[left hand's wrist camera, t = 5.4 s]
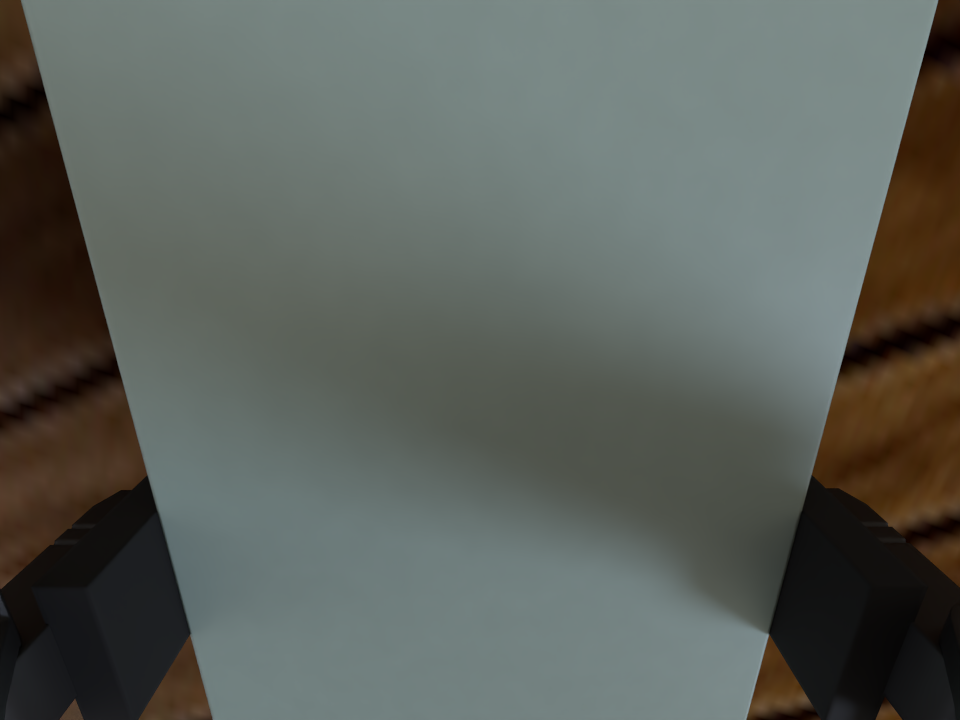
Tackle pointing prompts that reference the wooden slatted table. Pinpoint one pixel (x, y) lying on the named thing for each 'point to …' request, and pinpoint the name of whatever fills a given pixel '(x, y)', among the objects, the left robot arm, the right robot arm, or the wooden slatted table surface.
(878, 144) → the cabinet
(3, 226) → the wooden slatted table surface
